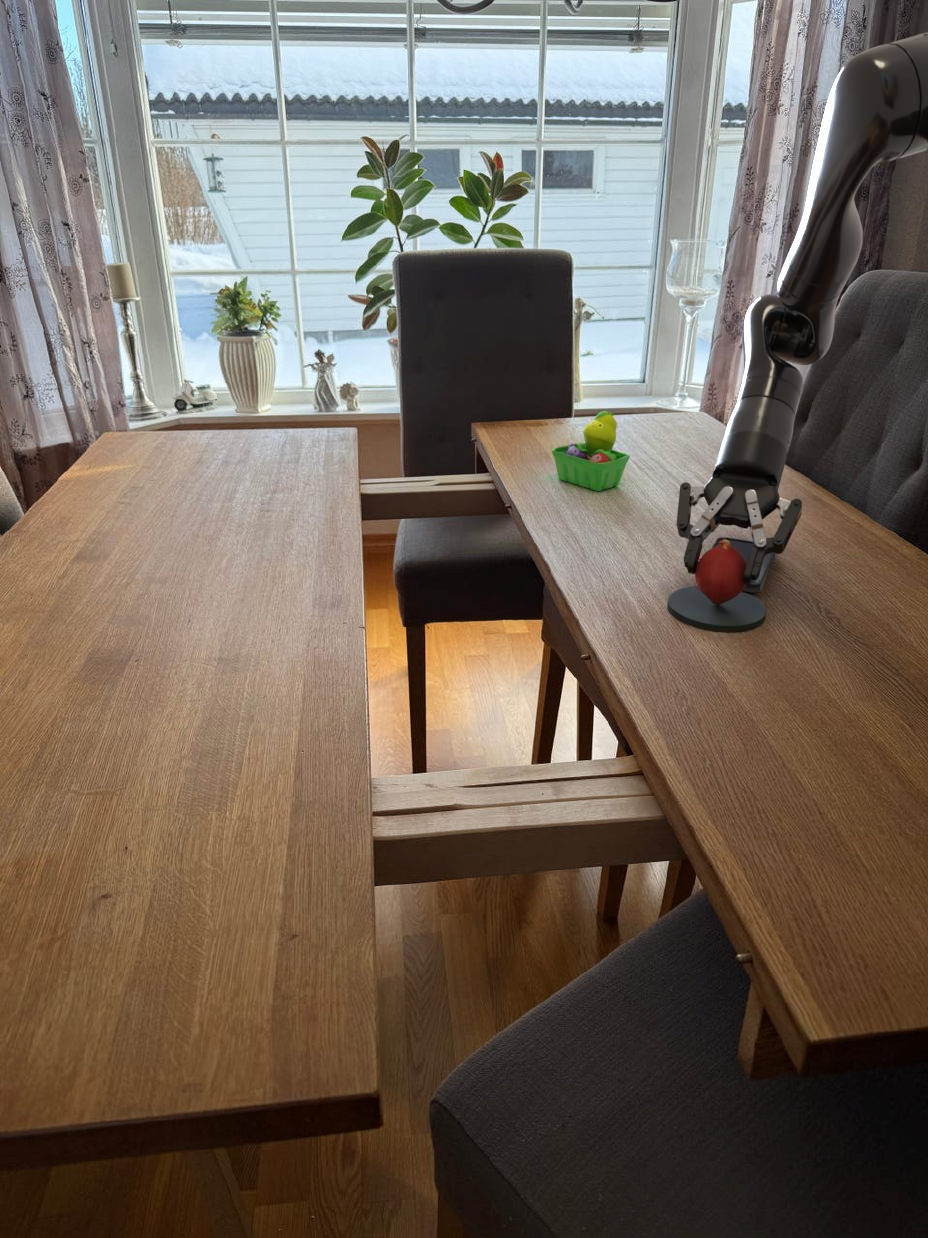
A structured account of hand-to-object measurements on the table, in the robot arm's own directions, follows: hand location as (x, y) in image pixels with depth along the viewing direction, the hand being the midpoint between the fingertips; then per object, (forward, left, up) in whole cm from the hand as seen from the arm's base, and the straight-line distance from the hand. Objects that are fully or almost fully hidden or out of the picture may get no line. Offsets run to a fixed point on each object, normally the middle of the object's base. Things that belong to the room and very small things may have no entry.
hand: (718, 575), depth 99 cm
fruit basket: (+20, -48, -5) cm, 52 cm away
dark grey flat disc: (0, -2, -5) cm, 5 cm away
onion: (0, -2, -4) cm, 5 cm away
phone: (-3, -16, -5) cm, 17 cm away
